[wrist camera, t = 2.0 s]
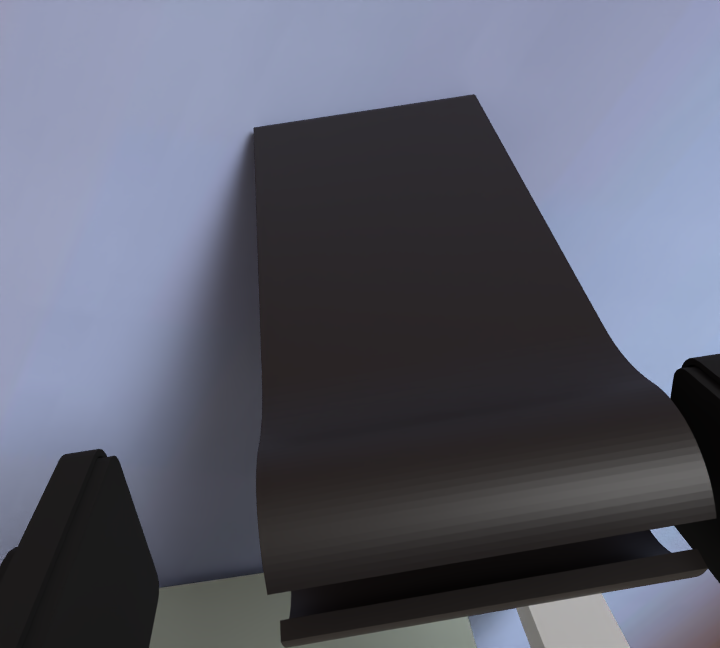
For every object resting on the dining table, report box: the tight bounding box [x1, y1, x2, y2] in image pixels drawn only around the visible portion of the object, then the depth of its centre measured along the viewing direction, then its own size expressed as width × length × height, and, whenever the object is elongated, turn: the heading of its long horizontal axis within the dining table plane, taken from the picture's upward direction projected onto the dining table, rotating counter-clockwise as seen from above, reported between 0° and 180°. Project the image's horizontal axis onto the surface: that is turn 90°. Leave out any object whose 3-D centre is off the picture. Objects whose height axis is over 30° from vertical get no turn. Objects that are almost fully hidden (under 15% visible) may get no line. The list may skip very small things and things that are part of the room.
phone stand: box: [254, 94, 716, 648], centre depth 14 cm, size 9×6×12 cm, turn 7°
